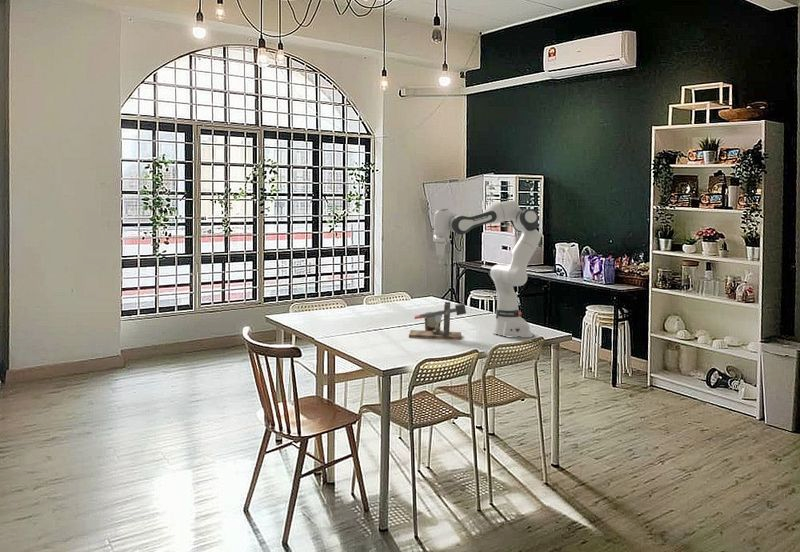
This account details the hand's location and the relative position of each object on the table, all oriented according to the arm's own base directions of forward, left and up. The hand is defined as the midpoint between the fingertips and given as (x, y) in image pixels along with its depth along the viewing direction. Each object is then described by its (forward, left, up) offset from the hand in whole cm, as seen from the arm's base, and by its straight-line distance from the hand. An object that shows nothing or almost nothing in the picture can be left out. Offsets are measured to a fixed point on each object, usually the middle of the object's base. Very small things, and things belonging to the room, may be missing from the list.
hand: (440, 262), depth 387 cm
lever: (-2, +12, -31) cm, 33 cm away
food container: (+5, -2, -39) cm, 40 cm away
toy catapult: (+1, +12, -39) cm, 41 cm away
